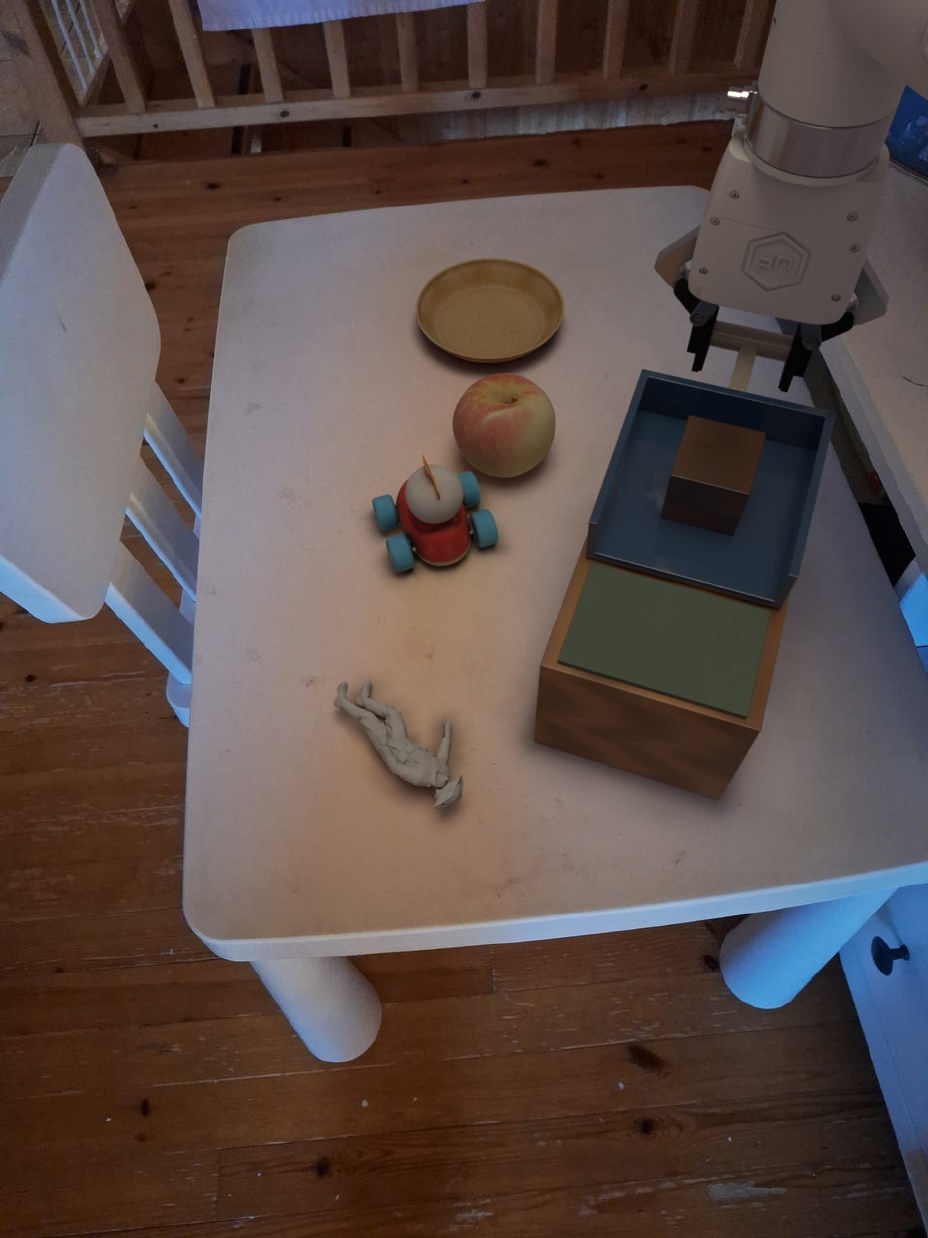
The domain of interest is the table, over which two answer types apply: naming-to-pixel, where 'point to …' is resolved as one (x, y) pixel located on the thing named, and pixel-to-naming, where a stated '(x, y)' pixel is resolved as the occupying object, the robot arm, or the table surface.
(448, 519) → the toy car
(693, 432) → the block
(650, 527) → the blue open box
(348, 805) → the table surface
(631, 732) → the stand
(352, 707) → the soldier figure
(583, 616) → the mat
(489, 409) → the apple
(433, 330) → the plant saucer
